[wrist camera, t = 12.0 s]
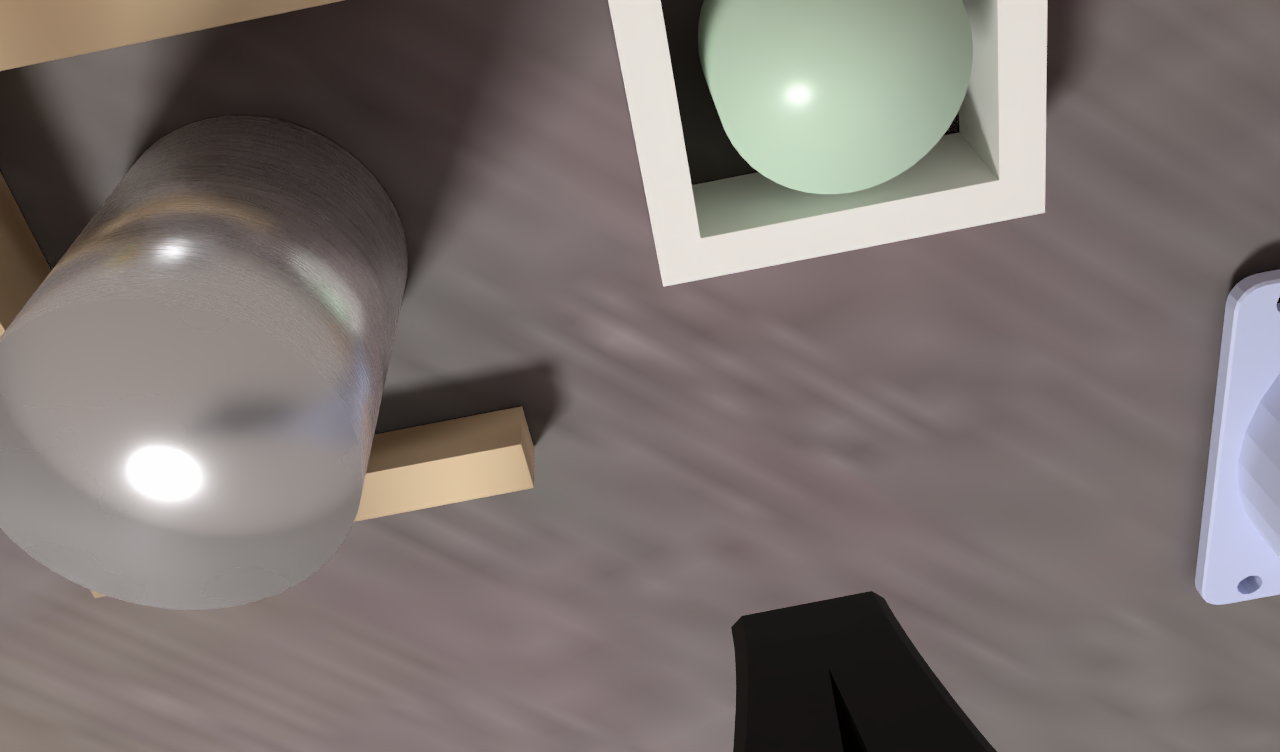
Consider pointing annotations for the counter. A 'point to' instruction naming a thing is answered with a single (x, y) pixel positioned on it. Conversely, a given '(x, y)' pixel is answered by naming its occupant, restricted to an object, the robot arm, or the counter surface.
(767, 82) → the button
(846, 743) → the robot arm
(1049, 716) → the counter surface
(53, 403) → the cylinder
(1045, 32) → the button housing
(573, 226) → the counter surface
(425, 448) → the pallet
